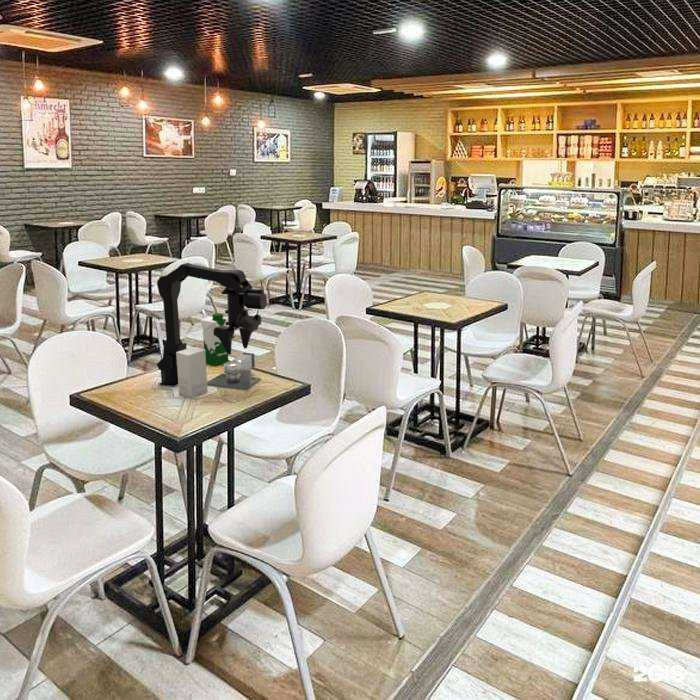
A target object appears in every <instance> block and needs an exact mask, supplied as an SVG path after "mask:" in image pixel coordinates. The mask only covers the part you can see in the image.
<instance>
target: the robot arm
mask: <svg viewBox="0 0 700 700" xmlns="http://www.w3.org/2000/svg"><path fill="white" fill-rule="evenodd" d="M188 277H192V278H196V279H200V280H205V281H210V282H215V283H217V284H219V285H220V286H222V287H225V288H224V290H222V291H221V293H220V294H221V295H227V296H226V297H227V298H226V299H227V309H225V310H224V313H225V315H226V314H227V319H228V322H226V325H227V326H218V327H215V329H214V330H213V332H214V336H216V337H218V338H219V340H220V341H221V343H222V344H223V346H224V348H225V350H226V352H227V354H228V356H229V355H232V346H233V345H232V340H234V338H235V335H234V334H235V331H239V335H240V339H241V343H242V346H243V349H248V346H249V342H250V339H251V336H252V334H253V332H255V331H258V329H259V327H260V325H262V316H261V314H254V315H249V311H248V310H247V309H255V310H265V309H266V306H267V304H268V303H267V302H268V301H267V300H268V299H267V298H268V297H267V295H266V293H265V289H264V288H259V289H258V288H256V289H255V288H253V286H252V284H250V282H249V280H248V279H247V277H246V274H245V272H244V271H243V270H240V269H217V268H213V267H207V266H203V265H199V264H198V265H197V264H193V263H190V262H185V263H182V264H179V266H178V267H176V268H175V269H174V270H172V271H171V272H169V273H168V274H165V275H163V276H160V277H159V278H158V279H157V282H156V285H157V290H158V293H159V296H160V297H161V299H162V301H163V311H164V312H163V314H164V326H165V327H164V328H165V338H166V340H165V344H164V346H163V350H162V351H163V352H162V358H161V359H160V360H159V362H157V364H156V366H157V369H158V370H159V371H160V378H161V381H160V382H159V383H158V385H159V386H167V387H168V386H169V387H176V386H179V385H178V371H177V356H176V352H178V351H182V350H185V349H187V345H188V344H187V342H183V341H182V339H181V335H180V333H181V332H180V318H179V317H180V316H179V306H178V305H179V304H178V303H179V302H178V299H179V295H180V293H181V288H182V282H184V281H185V280H186V279H187V278H188ZM245 307H246V308H247V309H245Z"/></svg>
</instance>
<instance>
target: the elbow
mask: <svg viewBox="0 0 700 700" xmlns="http://www.w3.org/2000/svg"><path fill="white" fill-rule="evenodd" d="M255 364H256V363H255V353H253V352H252V353H251V352H242V354H241V355H239V356H238V357H235V358H233V359H232V361H230V360H229V362H226V363H224V364H223V374H238V373H240V369H251V368H255V366H256V365H255Z"/></svg>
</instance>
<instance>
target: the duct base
mask: <svg viewBox="0 0 700 700" xmlns="http://www.w3.org/2000/svg"><path fill="white" fill-rule="evenodd" d="M259 382H261V377H257V376H252V369H251V368H250V369H240V373H238V374H226V373H220V374H218V375H217V376H215V377H213V378H212V379H210V380H207V387H215V388H225V389H232V390H241V391H247V390H248V389H250V388H251V387H253V386H254V385H256V384H258V383H259Z"/></svg>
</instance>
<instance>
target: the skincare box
mask: <svg viewBox="0 0 700 700" xmlns="http://www.w3.org/2000/svg"><path fill="white" fill-rule="evenodd" d="M176 356H177V371H178V385H177V386H178V395H180V396H183V397H187V398H191V399H192V398H194V397H196V396H199V395H202V394H204V393H207V392H208V386H207V382H208V377H207V376H208V373H207V364H206V355H205V349H204V348H201V347H196V346H192V347H188V348H186V349H185V350H182V351H178V352H176Z"/></svg>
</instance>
